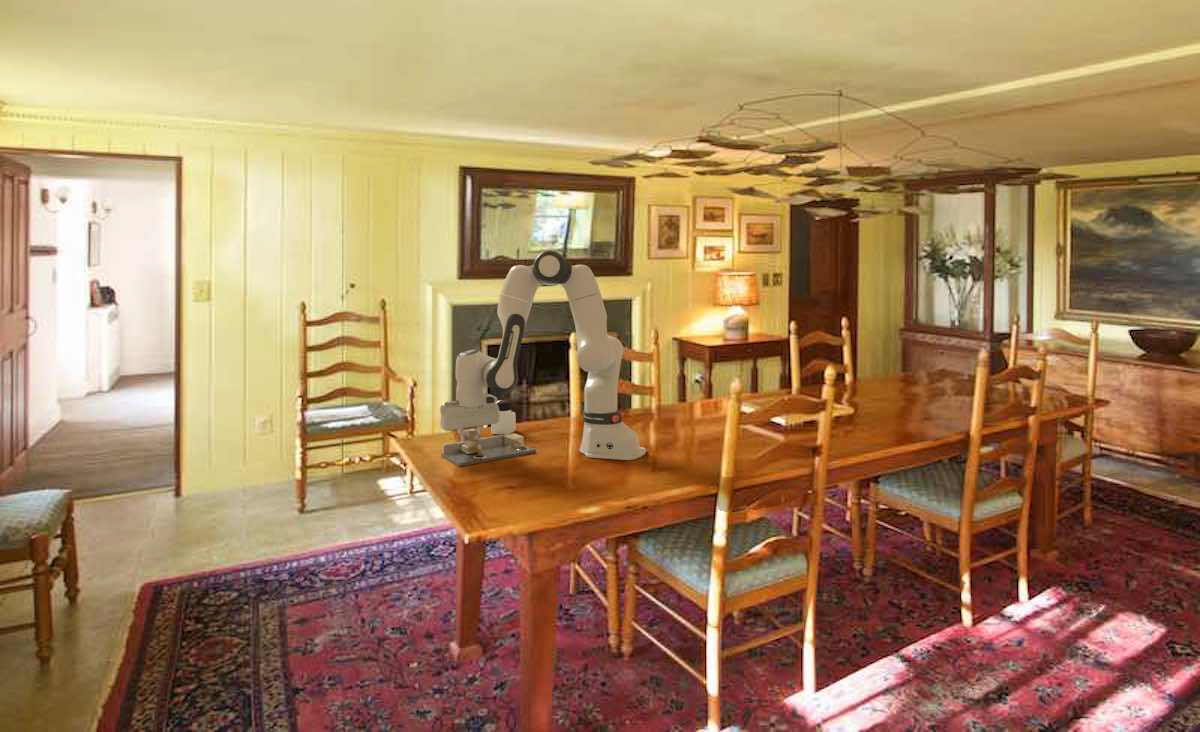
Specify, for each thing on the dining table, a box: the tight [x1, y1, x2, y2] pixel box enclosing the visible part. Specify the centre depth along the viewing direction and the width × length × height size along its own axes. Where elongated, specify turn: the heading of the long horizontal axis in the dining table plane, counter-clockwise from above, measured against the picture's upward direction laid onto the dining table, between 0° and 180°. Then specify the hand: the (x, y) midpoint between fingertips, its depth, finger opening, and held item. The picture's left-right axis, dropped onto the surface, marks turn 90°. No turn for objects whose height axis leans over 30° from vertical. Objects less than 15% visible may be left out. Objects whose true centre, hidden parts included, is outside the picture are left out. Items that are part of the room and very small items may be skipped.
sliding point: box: [461, 428, 482, 455], centre depth 247 cm, size 5×10×7 cm, turn 35°
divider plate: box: [440, 432, 537, 467], centre depth 249 cm, size 28×14×4 cm, turn 125°
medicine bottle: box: [490, 399, 517, 435], centre depth 279 cm, size 7×7×12 cm
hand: (470, 439), depth 249 cm, fingers closed on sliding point, 3 cm apart
